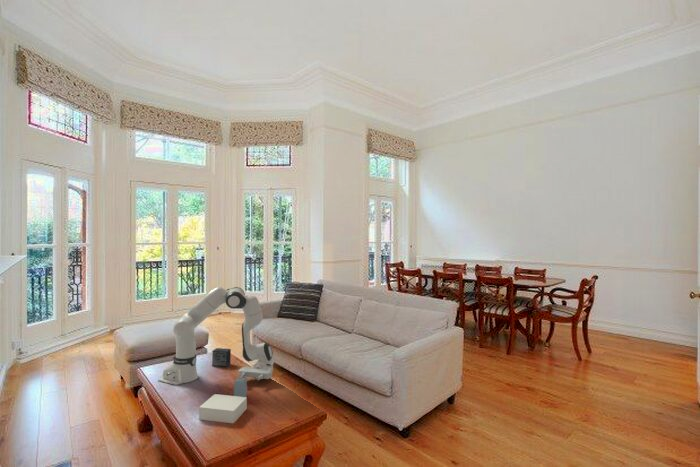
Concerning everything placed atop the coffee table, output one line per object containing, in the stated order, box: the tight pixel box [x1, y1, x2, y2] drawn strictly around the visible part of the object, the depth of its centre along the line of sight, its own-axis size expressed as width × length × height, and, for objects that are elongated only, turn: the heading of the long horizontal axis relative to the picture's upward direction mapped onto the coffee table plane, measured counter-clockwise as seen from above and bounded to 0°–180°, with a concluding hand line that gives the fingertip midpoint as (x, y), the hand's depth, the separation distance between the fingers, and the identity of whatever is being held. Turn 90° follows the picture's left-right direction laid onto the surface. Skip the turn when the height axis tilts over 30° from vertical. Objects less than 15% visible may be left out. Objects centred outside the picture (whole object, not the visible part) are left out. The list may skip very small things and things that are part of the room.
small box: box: [211, 347, 232, 368], centre depth 240 cm, size 11×6×10 cm, turn 84°
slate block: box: [233, 376, 248, 397], centre depth 194 cm, size 5×5×10 cm
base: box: [198, 393, 248, 424], centre depth 176 cm, size 18×14×6 cm
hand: (250, 378), depth 206 cm, fingers open, 8 cm apart
